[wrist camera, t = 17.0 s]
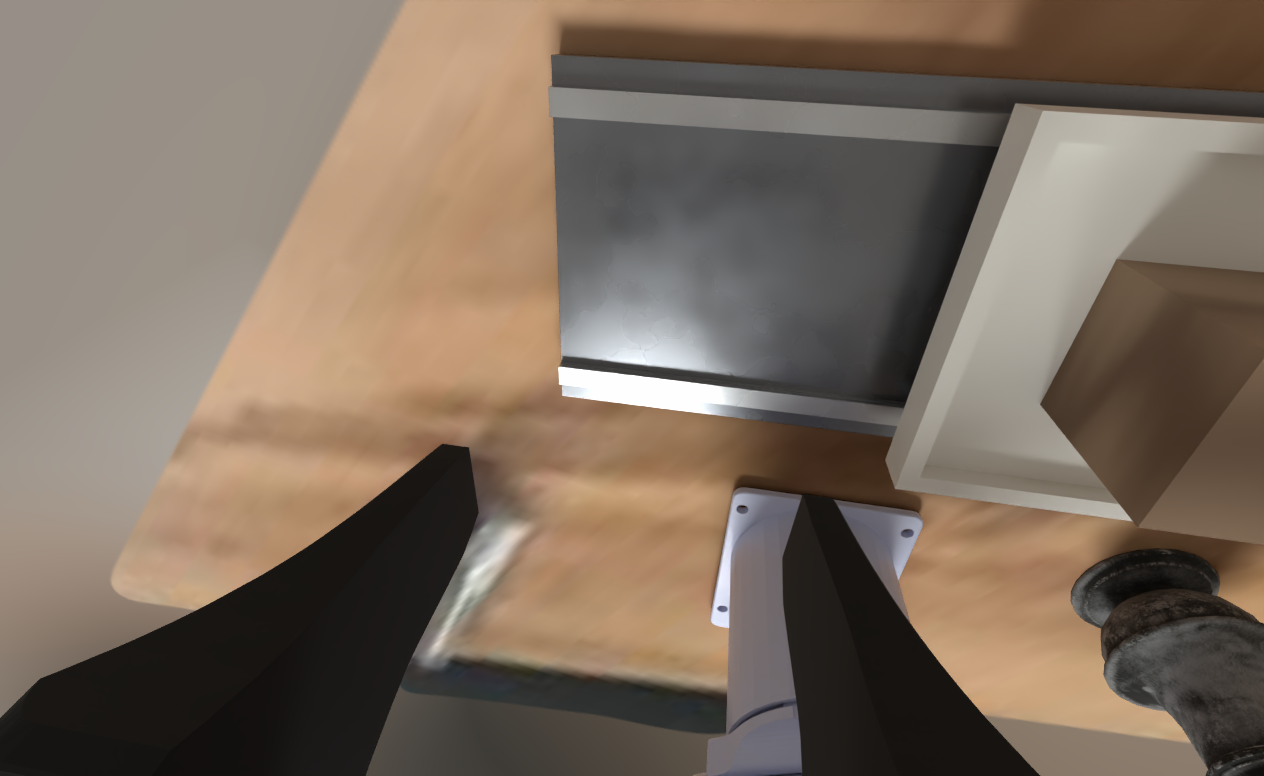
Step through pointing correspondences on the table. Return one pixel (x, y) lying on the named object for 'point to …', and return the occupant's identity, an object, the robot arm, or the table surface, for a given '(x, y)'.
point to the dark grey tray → (777, 226)
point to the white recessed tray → (1064, 286)
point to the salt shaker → (1181, 651)
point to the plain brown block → (1172, 397)
